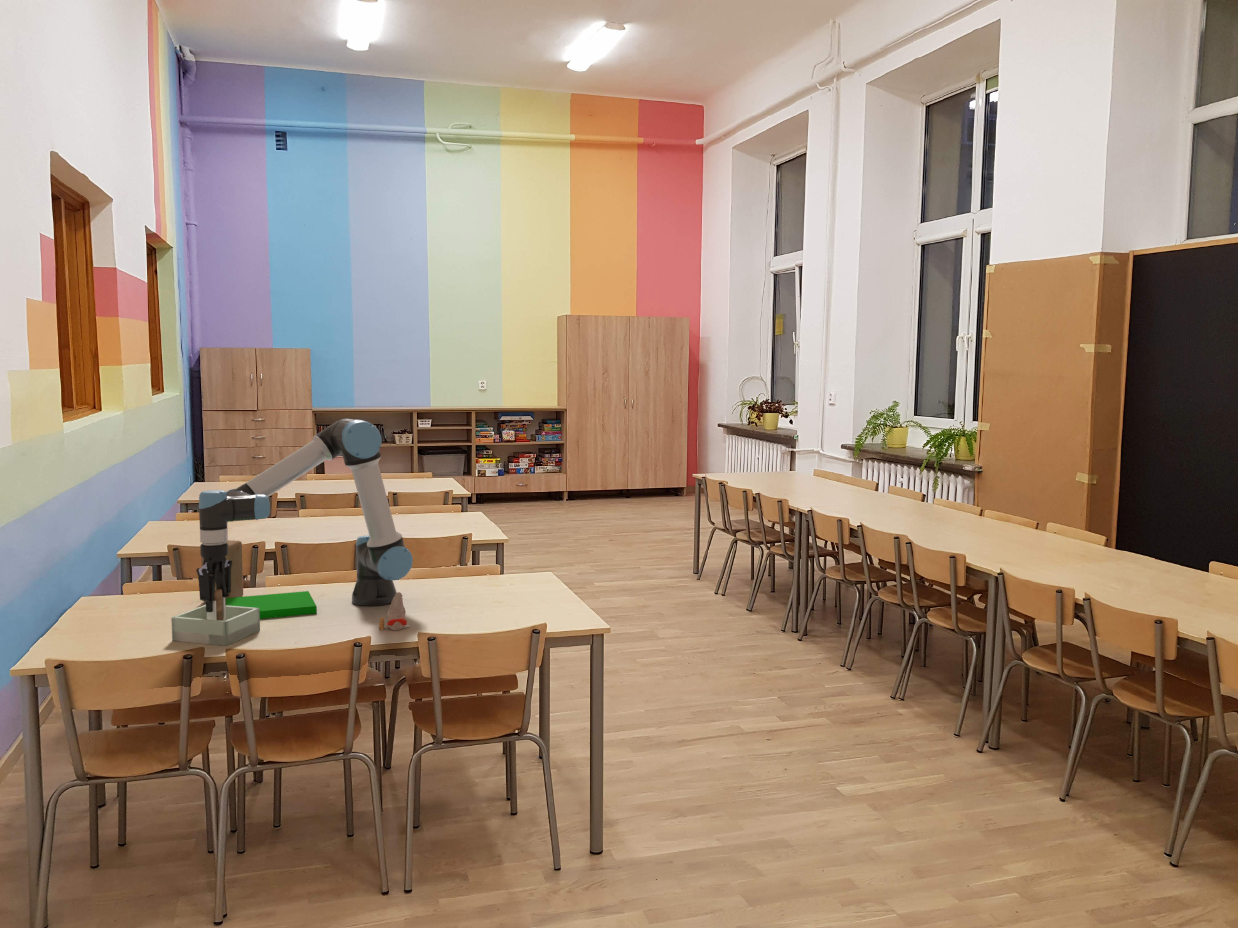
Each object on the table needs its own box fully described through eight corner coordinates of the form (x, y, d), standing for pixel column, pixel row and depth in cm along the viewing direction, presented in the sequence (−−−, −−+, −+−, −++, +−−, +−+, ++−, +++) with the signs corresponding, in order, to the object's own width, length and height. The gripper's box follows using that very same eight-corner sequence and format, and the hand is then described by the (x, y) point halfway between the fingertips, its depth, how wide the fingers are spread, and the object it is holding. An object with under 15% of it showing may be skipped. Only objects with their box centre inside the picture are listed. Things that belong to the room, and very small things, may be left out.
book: (220, 607, 307) (220, 598, 306) (308, 599, 319) (308, 590, 318) (223, 624, 286) (222, 614, 286) (316, 615, 298) (316, 606, 298)
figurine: (406, 623, 288) (409, 588, 285) (410, 632, 282) (413, 596, 279) (377, 625, 284) (379, 589, 281) (380, 634, 278) (383, 597, 275)
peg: (225, 628, 274) (224, 589, 273) (218, 631, 270) (216, 591, 269) (215, 627, 275) (214, 588, 273) (207, 630, 271) (206, 590, 270)
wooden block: (244, 596, 319) (242, 540, 317) (229, 604, 309) (227, 545, 307) (217, 595, 320) (215, 539, 318) (201, 602, 310) (199, 544, 308)
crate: (260, 630, 278) (259, 608, 278) (226, 645, 263) (225, 621, 262) (208, 625, 282) (207, 603, 282) (172, 640, 267) (171, 617, 266)
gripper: (221, 537, 279) (223, 612, 281) (183, 547, 263) (186, 626, 265) (242, 538, 277) (244, 614, 279) (206, 548, 261) (209, 628, 263)
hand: (216, 620), depth 272 cm, fingers closed on peg, 3 cm apart
